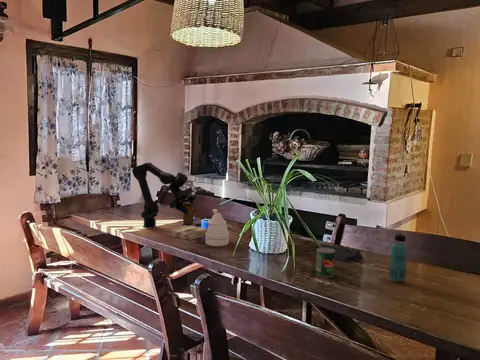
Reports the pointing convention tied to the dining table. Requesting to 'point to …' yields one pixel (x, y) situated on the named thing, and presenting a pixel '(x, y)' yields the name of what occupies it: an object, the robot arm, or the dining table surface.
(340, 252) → the dark slate chunk
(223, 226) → the honey pot
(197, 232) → the base board
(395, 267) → the beverage bottle
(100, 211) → the dining table surface
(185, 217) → the condiment
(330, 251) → the canned tomato
